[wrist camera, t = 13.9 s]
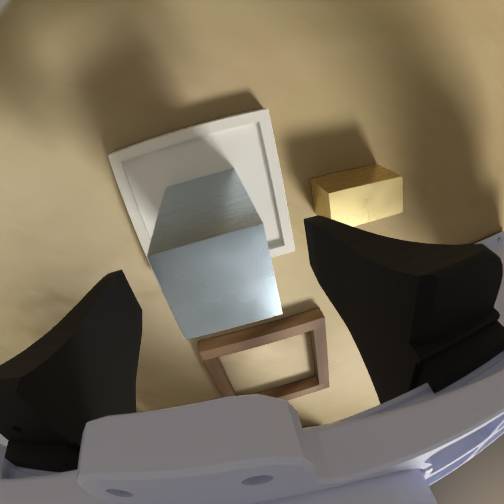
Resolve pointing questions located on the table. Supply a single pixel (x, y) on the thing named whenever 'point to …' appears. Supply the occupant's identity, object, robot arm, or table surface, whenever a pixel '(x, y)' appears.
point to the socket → (265, 335)
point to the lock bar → (358, 195)
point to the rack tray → (207, 171)
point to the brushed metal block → (213, 256)
